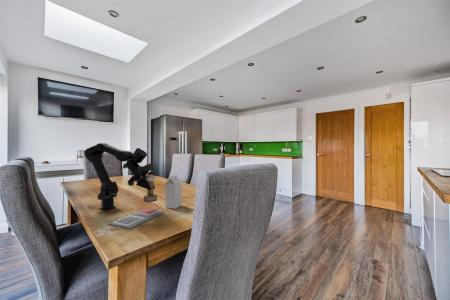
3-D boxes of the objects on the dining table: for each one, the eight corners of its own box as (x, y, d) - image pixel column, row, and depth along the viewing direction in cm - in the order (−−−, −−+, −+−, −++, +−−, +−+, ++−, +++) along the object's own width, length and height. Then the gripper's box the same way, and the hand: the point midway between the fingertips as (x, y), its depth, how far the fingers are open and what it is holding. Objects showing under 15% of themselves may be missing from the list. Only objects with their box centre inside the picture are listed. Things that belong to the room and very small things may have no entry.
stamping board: (107, 224, 88) (107, 220, 88) (144, 209, 110) (144, 206, 110) (130, 229, 83) (130, 225, 83) (164, 212, 105) (164, 209, 105)
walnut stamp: (143, 201, 103) (143, 174, 103) (151, 199, 107) (151, 173, 107) (149, 202, 100) (149, 175, 100) (157, 200, 105) (157, 174, 105)
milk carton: (181, 205, 118) (181, 175, 118) (175, 209, 111) (175, 177, 111) (172, 204, 120) (172, 175, 120) (165, 207, 113) (165, 176, 113)
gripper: (132, 159, 95) (151, 182, 93) (153, 158, 114) (170, 176, 111) (119, 174, 97) (138, 197, 95) (142, 170, 115) (158, 189, 113)
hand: (152, 189), depth 103 cm, fingers closed on walnut stamp, 3 cm apart
